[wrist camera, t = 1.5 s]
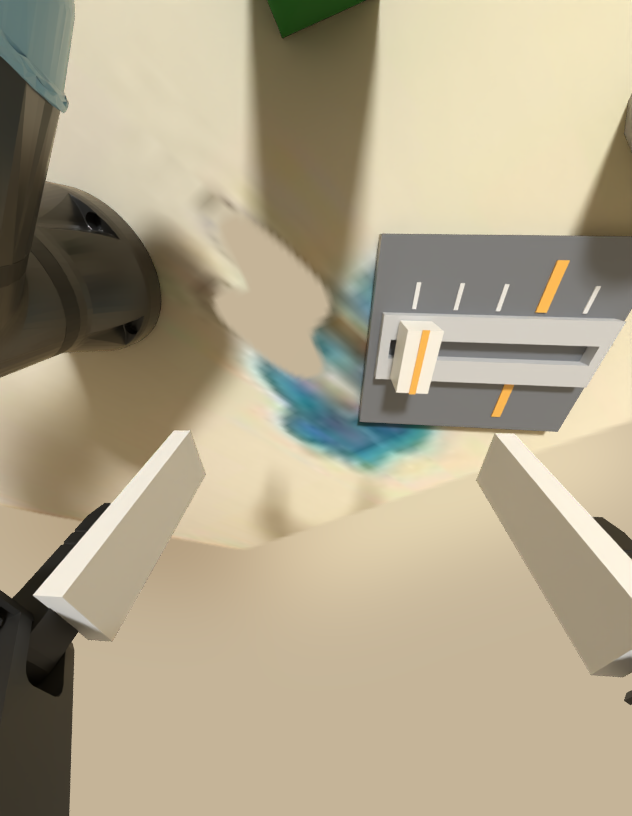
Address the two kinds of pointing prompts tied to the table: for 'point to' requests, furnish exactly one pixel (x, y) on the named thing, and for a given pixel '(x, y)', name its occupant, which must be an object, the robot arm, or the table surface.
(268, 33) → the table surface
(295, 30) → the milk carton
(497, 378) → the console
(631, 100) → the cup
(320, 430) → the table surface
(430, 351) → the fader
